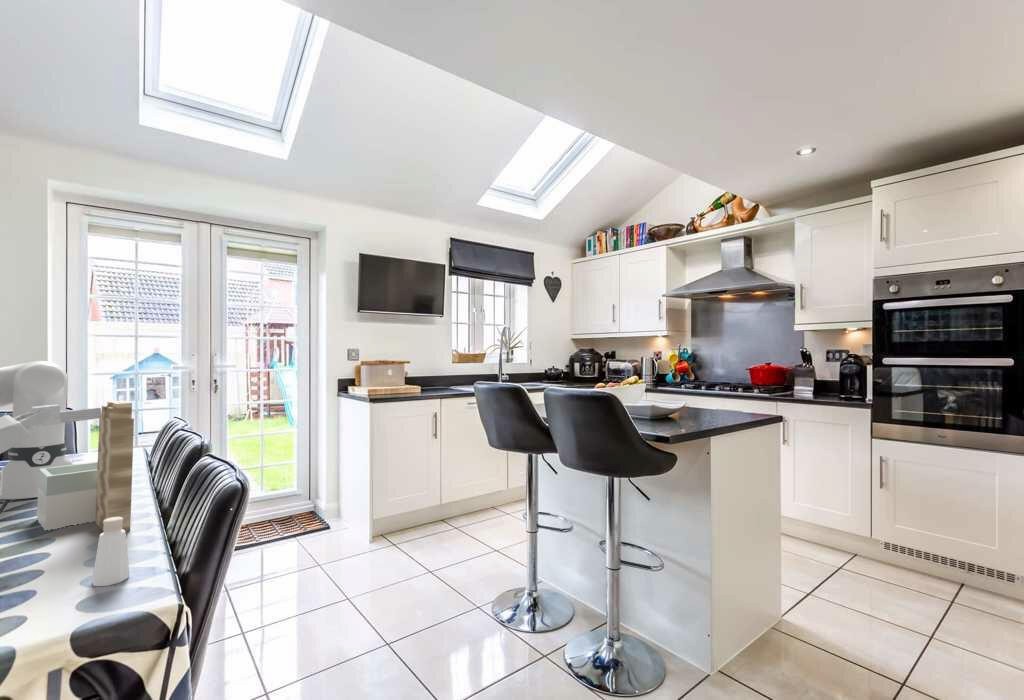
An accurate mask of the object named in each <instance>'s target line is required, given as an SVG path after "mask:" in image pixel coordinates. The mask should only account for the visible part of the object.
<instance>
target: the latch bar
mask: <svg viewBox="0 0 1024 700" xmlns="http://www.w3.org/2000/svg"><path fill="white" fill-rule="evenodd" d="M42 410H46V411H48V413H49V414H50V417H49V418H47V419H45V420H43V421H41V422H40V423H38V424H37V425H35V427H38V426H46V425H54V424H61V423H65V424H66V423H72V422H81V421H88V420H89V421H90V420H97V419H99V418H101V414H102V407H99V406H98V407H90V408H81V409H70V410H66V411H60V405H57V404H54V405H44V406H34V407H31V415H34V414H36V413H38V412H40V411H42Z"/></svg>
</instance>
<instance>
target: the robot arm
mask: <svg viewBox="0 0 1024 700" xmlns="http://www.w3.org/2000/svg"><path fill="white" fill-rule="evenodd" d="M68 385H69V376H68V373H67V372H66V370H65V369H64V368H63V367H62V366H61V365H59V364H58V363H55V362H52V361H46V360H35V361H29V362H24V363H18V364H13V365H9V366H3V367H1V366H0V408H3V407H6V406H10V405H12V416H11V415H10V414H6V415H2V416H0V455H1V454H2V453H5V452H7V451H8V453H7V455H8V457H7V458H8V460H9V462H7V464H5V465H4V466H3V468H1V470H0V500H25V499H32V498H38V479H39V469H42V468H50V467H58V466H67V465H73V461H72V460H71V459H70V458H68V457H67V456H66V454H67V443H66V442H65V431H66V423H61V424H54V425H46V426H38V427H35V425H37V424H38V423H40V422H41V421H43V420H45V419H47V418H49V417H50V414H49V413H48V411H46V410H42V411H40V412H38V413H36V414H34V415H31V407H34V406H44V405H54V404H57V405H60V411H67V402H68V401H67V399H68Z"/></svg>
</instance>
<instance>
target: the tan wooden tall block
mask: <svg viewBox="0 0 1024 700" xmlns="http://www.w3.org/2000/svg"><path fill="white" fill-rule="evenodd" d="M106 402H107V404H106V405H101V418H99V420H98V446H97V462H98V470H97V498H96V521H95V525H97V526H98V528H100V529H101V530H102V531H104V529H103V526H104V524H103V521H104V520H105V519H108V518H111V517H122V518H123V521H122V523H123V526H122V529H123V530H125V532H128V531H131V523H132V522H131V519H132V518H131V516H132V514H131V513H132V512H131V511H132V494H133V493H132V487H133V458H134V433H135V431H134V429H135V427H134V426H135V425H134V423H135V422H134V421H135V418H133V416H132V415H133V413H132V412H133V403H132V402H130V401H125V400H115V401H114V400H113V401H112V400H111V401H109V400H108V401H106Z"/></svg>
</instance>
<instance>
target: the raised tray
mask: <svg viewBox="0 0 1024 700" xmlns="http://www.w3.org/2000/svg"><path fill="white" fill-rule="evenodd" d="M97 470H98V461H93V462H86V463H77V464H76V463H75V464H72V465H67V466H58V467H50V468H42V469H39V479H38V497H37V508H36V509H37V510H36V521H37V520H38V521H37V522H38V523H39V525H40V524H41V525H40V526H41V527H43V528H44V529H43V528H42V529H43V531H44V532H47V531H46V530H48V531H52V530H51V529H53V530H57V529H56V528H59V529H62V528H61V527H64V528H66V527H65V526H69V525H74V526H76V525H75V524H79V525H82V524H81V523H84V524H87V523H86V522H89V523H93V521H94V522H96V498H97ZM69 527H70V526H69Z"/></svg>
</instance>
